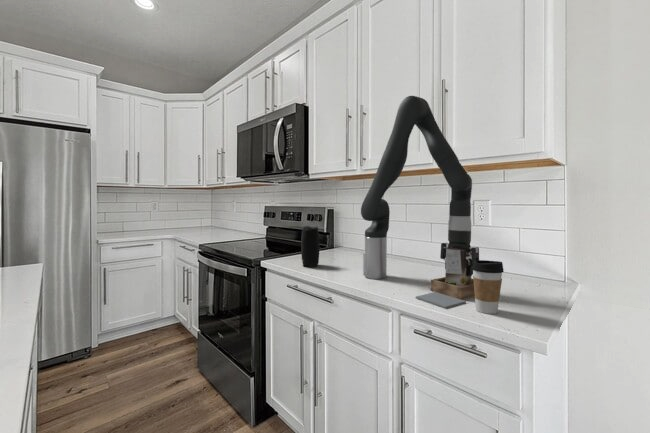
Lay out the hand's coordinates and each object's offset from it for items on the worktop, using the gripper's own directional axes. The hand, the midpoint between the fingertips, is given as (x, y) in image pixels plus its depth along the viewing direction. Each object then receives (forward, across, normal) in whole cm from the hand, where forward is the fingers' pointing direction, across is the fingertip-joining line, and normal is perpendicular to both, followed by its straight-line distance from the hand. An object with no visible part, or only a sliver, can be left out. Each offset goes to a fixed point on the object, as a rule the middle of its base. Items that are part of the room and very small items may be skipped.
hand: (458, 273), depth 116 cm
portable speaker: (+7, -67, -24) cm, 71 cm away
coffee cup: (+7, +17, -9) cm, 20 cm away
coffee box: (+7, 0, 0) cm, 7 cm away
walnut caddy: (+7, 0, 0) cm, 7 cm away
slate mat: (+7, +3, -14) cm, 15 cm away
